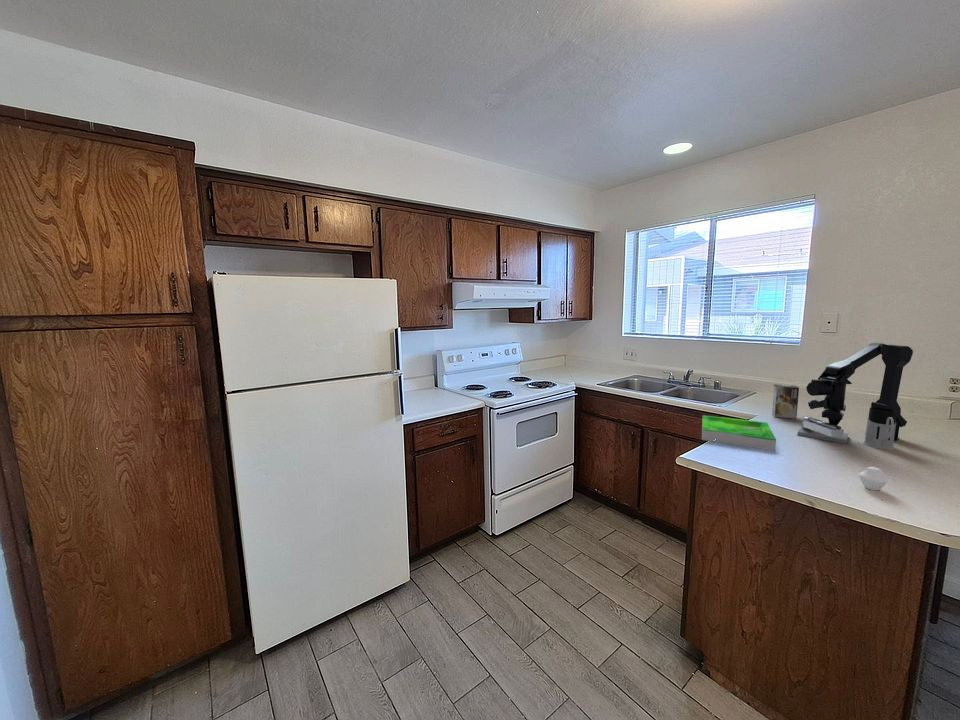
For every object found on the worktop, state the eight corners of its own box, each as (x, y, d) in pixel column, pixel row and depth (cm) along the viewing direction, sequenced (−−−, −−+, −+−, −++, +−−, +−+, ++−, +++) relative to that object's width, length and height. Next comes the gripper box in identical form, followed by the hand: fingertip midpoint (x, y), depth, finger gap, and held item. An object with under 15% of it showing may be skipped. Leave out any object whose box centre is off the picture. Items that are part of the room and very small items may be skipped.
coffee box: (793, 415, 193) (796, 385, 191) (796, 419, 188) (800, 387, 186) (771, 413, 198) (774, 383, 196) (773, 416, 192) (776, 386, 190)
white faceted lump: (884, 495, 112) (887, 473, 111) (855, 487, 117) (858, 466, 116) (887, 489, 115) (890, 467, 114) (860, 482, 120) (862, 461, 119)
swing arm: (798, 427, 169) (799, 416, 168) (808, 427, 169) (810, 416, 168) (831, 439, 153) (832, 426, 153) (842, 438, 153) (844, 426, 153)
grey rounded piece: (888, 444, 153) (893, 408, 151) (904, 455, 141) (910, 417, 139) (859, 440, 157) (863, 405, 155) (872, 451, 145) (877, 414, 143)
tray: (701, 425, 182) (702, 415, 181) (766, 433, 169) (767, 422, 168) (701, 440, 160) (702, 429, 160) (774, 451, 148) (776, 439, 147)
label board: (847, 436, 161) (848, 432, 161) (846, 443, 153) (846, 439, 153) (801, 428, 173) (801, 425, 172) (797, 435, 164) (797, 431, 164)
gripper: (813, 387, 169) (810, 420, 172) (807, 396, 157) (804, 431, 159) (847, 391, 161) (844, 425, 164) (844, 400, 149) (840, 437, 151)
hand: (832, 429), depth 160 cm, fingers closed
